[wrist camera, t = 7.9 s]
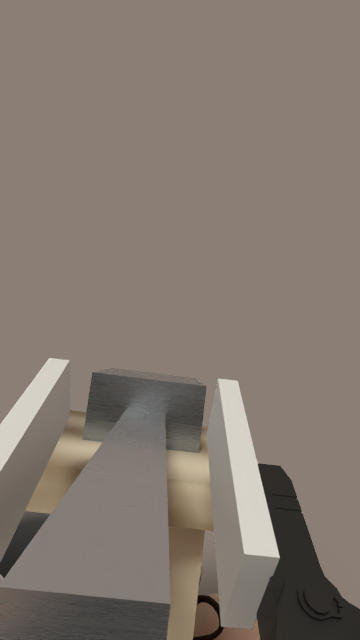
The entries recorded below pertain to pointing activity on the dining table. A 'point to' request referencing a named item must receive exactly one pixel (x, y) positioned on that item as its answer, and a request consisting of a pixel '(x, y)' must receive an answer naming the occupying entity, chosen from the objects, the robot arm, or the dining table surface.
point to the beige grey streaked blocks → (183, 511)
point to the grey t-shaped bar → (109, 520)
